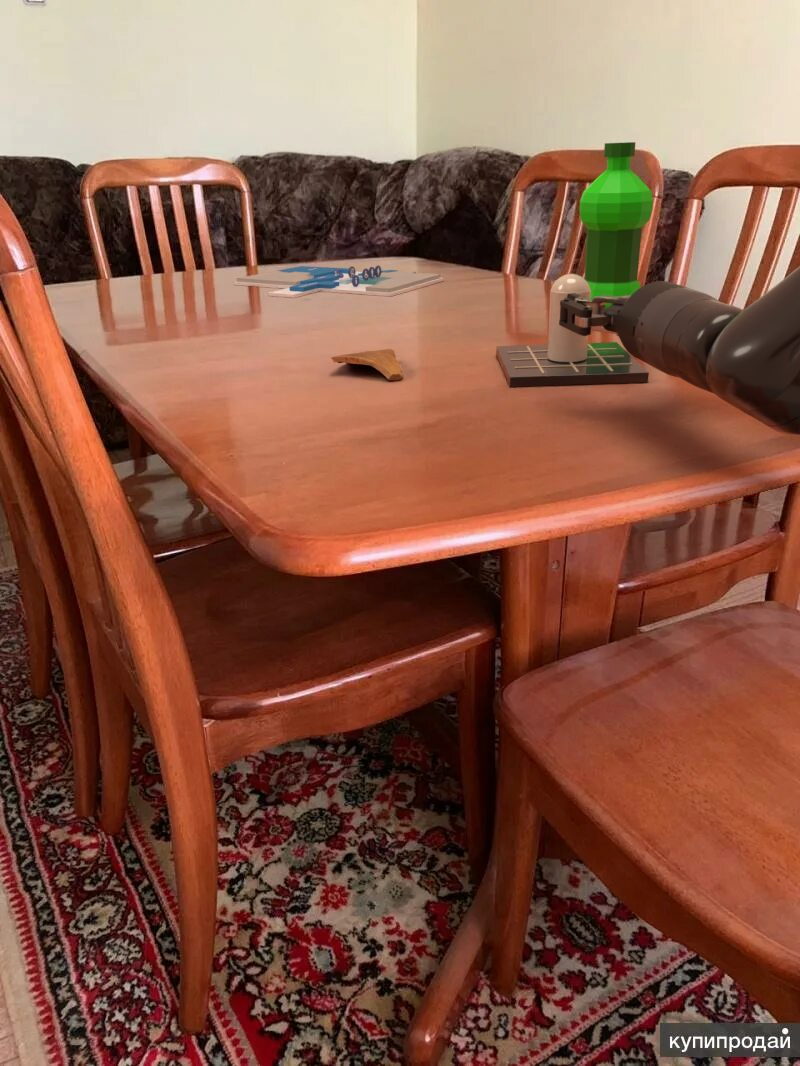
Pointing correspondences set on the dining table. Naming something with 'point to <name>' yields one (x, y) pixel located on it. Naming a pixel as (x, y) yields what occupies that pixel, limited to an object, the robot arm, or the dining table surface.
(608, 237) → the plastic bottle
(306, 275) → the relief map
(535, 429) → the dining table surface
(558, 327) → the dome-topped cylinder
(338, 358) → the pottery shard
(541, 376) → the board
